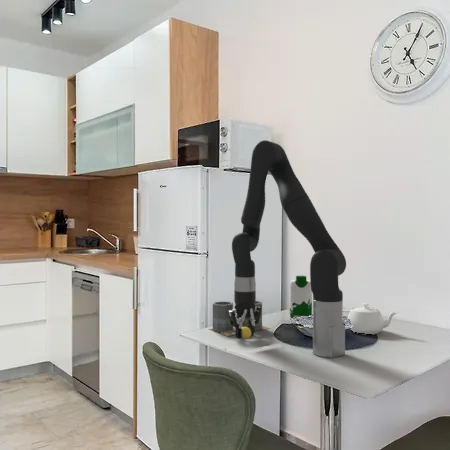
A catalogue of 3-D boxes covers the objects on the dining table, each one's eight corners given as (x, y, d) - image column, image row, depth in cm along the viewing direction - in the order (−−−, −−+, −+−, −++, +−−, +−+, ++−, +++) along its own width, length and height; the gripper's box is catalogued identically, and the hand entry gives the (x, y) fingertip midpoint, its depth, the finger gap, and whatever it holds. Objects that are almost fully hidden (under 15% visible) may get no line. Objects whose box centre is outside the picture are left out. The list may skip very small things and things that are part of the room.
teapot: (333, 332, 178) (333, 303, 178) (343, 325, 190) (343, 298, 189) (393, 340, 167) (394, 309, 166) (401, 332, 178) (401, 303, 178)
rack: (271, 331, 179) (271, 302, 178) (228, 340, 167) (228, 308, 167) (249, 325, 189) (249, 297, 189) (208, 332, 177) (208, 302, 177)
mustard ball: (254, 340, 167) (254, 327, 167) (243, 342, 164) (243, 329, 164) (246, 337, 171) (246, 324, 170) (235, 339, 168) (235, 326, 168)
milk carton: (289, 328, 184) (290, 276, 184) (289, 322, 193) (289, 273, 193) (312, 328, 183) (313, 277, 183) (310, 323, 192) (311, 274, 192)
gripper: (235, 292, 160) (235, 342, 160) (267, 288, 168) (267, 336, 168) (222, 289, 166) (222, 338, 166) (253, 286, 174) (253, 332, 175)
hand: (244, 337), depth 167 cm, fingers closed on mustard ball, 4 cm apart
